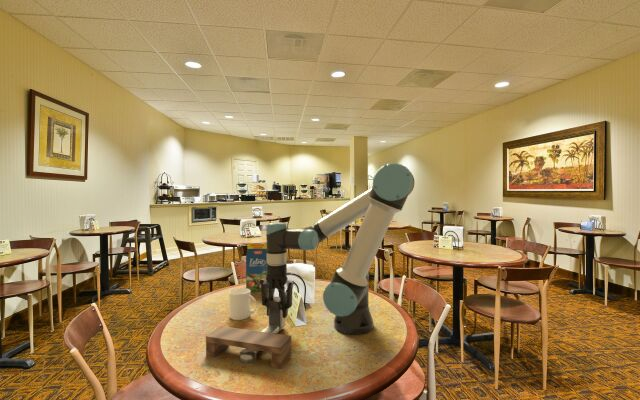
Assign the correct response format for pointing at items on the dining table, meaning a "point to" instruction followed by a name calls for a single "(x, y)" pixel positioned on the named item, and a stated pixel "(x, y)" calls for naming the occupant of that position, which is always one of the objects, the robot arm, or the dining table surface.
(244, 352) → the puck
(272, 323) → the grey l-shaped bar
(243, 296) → the mug
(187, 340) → the dining table surface
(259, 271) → the blue food package
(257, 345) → the riser
